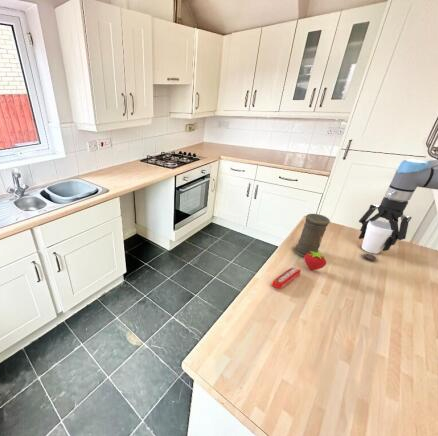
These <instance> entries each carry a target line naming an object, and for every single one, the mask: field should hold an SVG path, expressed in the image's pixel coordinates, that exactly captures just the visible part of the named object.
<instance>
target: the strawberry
mask: <svg viewBox="0 0 438 436" xmlns="http://www.w3.org/2000/svg"><path fill="white" fill-rule="evenodd" d="M310 252H311V251H310ZM303 258H304V263H305V265H306V267H307V269H308V270H309V271H311V272H312V271H318V270H321V269H323V268H324V267H325V266H326V265H327V260H326V259H325V256H323V253H319V252H317V253H315V252H311V253H307V254H306V255H305V256H304V257H303Z"/></svg>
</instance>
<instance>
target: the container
mask: <svg viewBox="0 0 438 436" xmlns="http://www.w3.org/2000/svg"><path fill="white" fill-rule="evenodd" d="M330 222H331V220H330V219H329V218H328V217H327V216H325V215H322V214H318V213H308V214H306V215H305V222H304V225H303V228H302V231H301V234H300V237H299V239H298V241H297V244H296V245H295V247H294V252H295V253H296V254H297V255H298V256H300V257H302V258H304V256H305V255H306V254H307V253H311V252H315V253H317V252H318V253H319V252H320V250H319V249H320V247H321V243H322V240H323V238H324V234H325V232H326V231H327V227H328V226H329V224H330ZM310 251H311V252H310Z"/></svg>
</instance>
